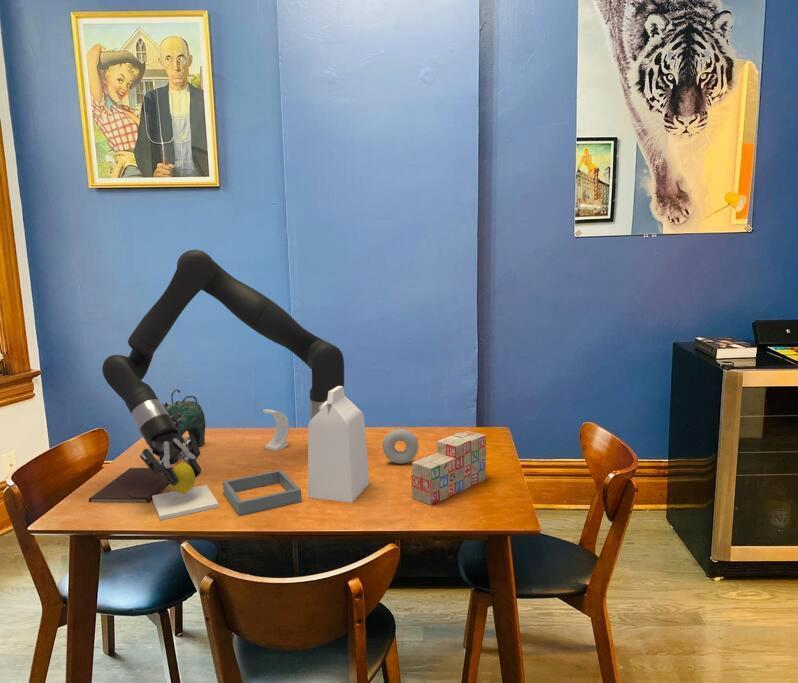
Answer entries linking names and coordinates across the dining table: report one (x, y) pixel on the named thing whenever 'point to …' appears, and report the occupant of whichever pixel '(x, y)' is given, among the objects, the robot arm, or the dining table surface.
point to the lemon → (184, 478)
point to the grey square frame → (264, 501)
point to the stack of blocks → (450, 467)
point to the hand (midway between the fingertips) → (187, 479)
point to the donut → (397, 455)
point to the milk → (337, 450)
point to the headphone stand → (278, 431)
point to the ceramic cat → (187, 419)
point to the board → (184, 502)
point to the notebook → (132, 487)
